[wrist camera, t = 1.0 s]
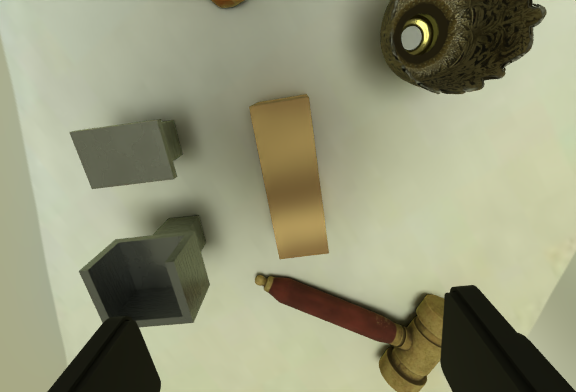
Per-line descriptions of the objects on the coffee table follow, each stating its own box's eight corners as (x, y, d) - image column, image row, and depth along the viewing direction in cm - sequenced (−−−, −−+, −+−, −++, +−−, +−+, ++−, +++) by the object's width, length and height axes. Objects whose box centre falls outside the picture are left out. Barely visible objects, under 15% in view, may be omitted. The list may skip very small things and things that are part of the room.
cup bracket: (148, 211, 28) (78, 271, 19) (213, 203, 27) (173, 261, 18) (163, 255, 30) (106, 329, 21) (224, 249, 29) (193, 322, 20)
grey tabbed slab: (120, 120, 25) (69, 132, 19) (189, 111, 24) (156, 120, 19) (135, 166, 26) (91, 188, 21) (200, 158, 26) (173, 179, 20)
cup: (351, -1, 21) (380, -46, 14) (456, -38, 20) (550, -109, 13) (371, 102, 24) (405, 112, 16) (465, 74, 23) (548, 70, 15)
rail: (258, 102, 24) (249, 106, 19) (306, 94, 24) (308, 97, 19) (282, 230, 28) (279, 259, 24) (323, 224, 28) (328, 253, 23)
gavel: (233, 330, 29) (269, 250, 26) (244, 299, 33) (276, 227, 30) (423, 404, 30) (482, 337, 27) (409, 365, 34) (459, 302, 31)
